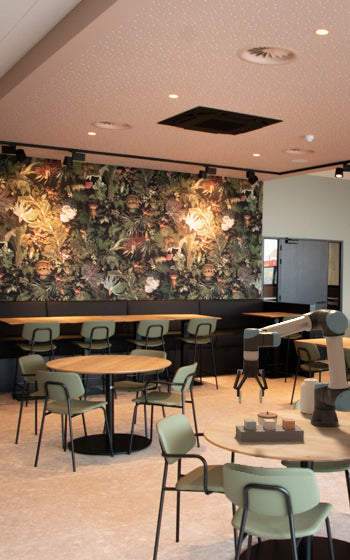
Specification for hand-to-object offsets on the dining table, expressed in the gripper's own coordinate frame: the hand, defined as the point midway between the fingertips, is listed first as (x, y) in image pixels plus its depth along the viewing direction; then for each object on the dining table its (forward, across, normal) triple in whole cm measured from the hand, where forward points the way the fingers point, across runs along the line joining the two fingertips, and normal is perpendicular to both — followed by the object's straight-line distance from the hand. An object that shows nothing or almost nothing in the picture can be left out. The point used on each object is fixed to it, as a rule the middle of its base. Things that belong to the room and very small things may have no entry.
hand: (250, 403), depth 295 cm
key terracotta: (+14, -20, 0) cm, 24 cm away
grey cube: (+14, 0, 0) cm, 14 cm away
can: (+18, -51, -54) cm, 76 cm away
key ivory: (+14, -10, 0) cm, 17 cm away
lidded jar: (+18, -14, -18) cm, 29 cm away
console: (+18, -10, 0) cm, 21 cm away
